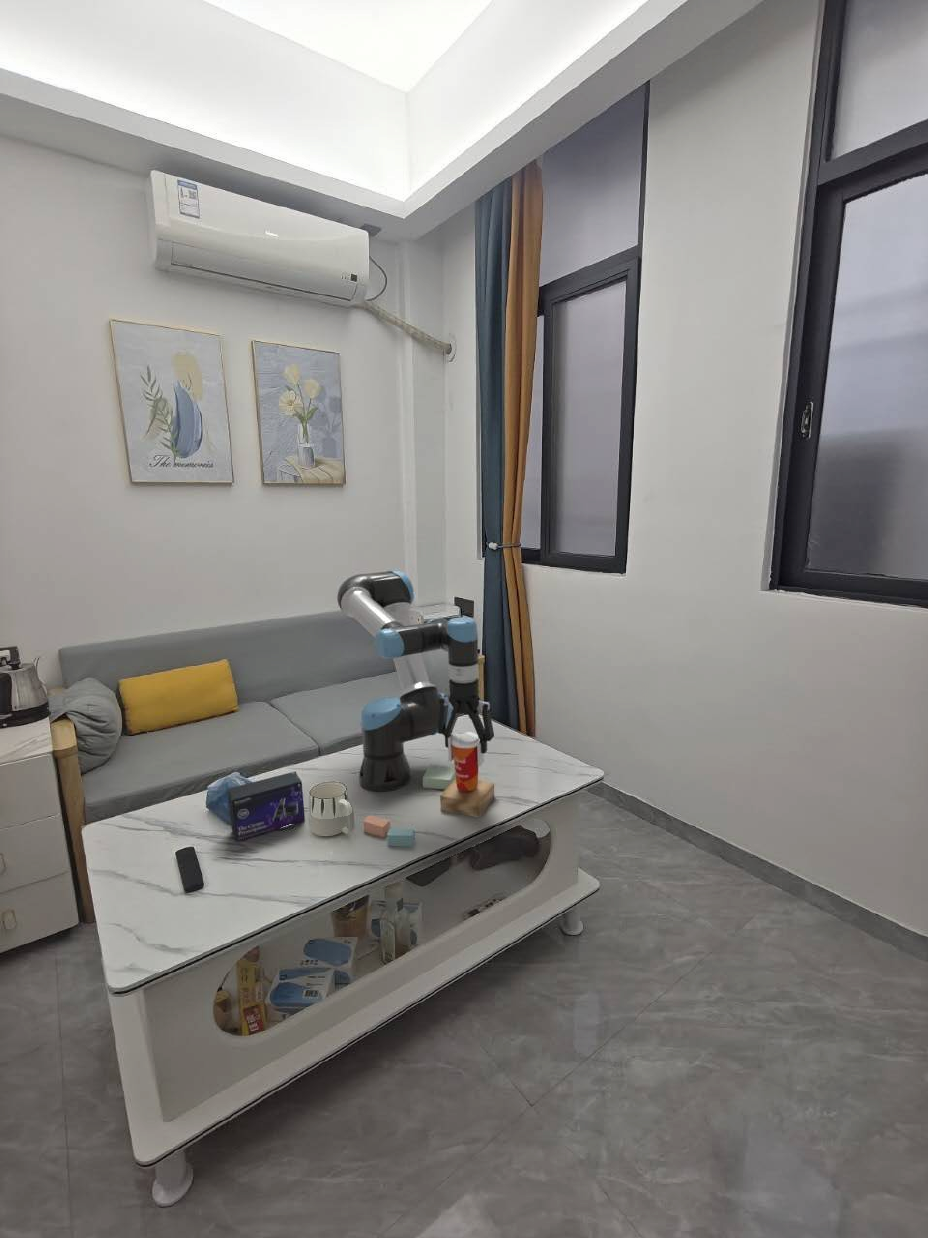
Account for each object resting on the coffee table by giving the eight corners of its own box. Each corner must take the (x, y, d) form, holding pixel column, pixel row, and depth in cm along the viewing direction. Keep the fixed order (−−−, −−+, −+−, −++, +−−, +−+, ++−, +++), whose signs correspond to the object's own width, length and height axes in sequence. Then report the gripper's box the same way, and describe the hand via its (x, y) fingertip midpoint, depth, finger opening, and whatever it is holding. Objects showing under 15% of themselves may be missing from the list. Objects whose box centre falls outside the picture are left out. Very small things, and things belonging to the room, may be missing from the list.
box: (236, 844, 140) (230, 799, 137) (231, 831, 145) (226, 787, 143) (306, 822, 148) (301, 780, 145) (299, 811, 154) (295, 769, 151)
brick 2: (387, 846, 137) (387, 835, 136) (390, 839, 140) (389, 828, 139) (412, 847, 136) (412, 835, 136) (414, 839, 139) (414, 828, 139)
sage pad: (423, 787, 164) (422, 777, 163) (431, 774, 171) (430, 764, 171) (450, 790, 162) (450, 780, 161) (457, 776, 169) (457, 767, 169)
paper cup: (448, 782, 156) (447, 734, 153) (475, 777, 158) (473, 729, 155) (458, 796, 149) (457, 745, 146) (486, 790, 151) (485, 740, 148)
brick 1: (363, 832, 143) (363, 821, 143) (371, 825, 146) (370, 815, 145) (383, 838, 140) (382, 827, 140) (390, 831, 143) (389, 820, 142)
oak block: (440, 809, 152) (440, 795, 151) (457, 789, 162) (457, 776, 161) (479, 817, 148) (478, 803, 147) (494, 796, 157) (494, 783, 157)
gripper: (421, 679, 148) (425, 761, 153) (496, 687, 140) (498, 774, 145) (434, 670, 155) (437, 749, 159) (506, 678, 147) (507, 761, 151)
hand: (466, 761), depth 152 cm, fingers closed on paper cup, 8 cm apart
